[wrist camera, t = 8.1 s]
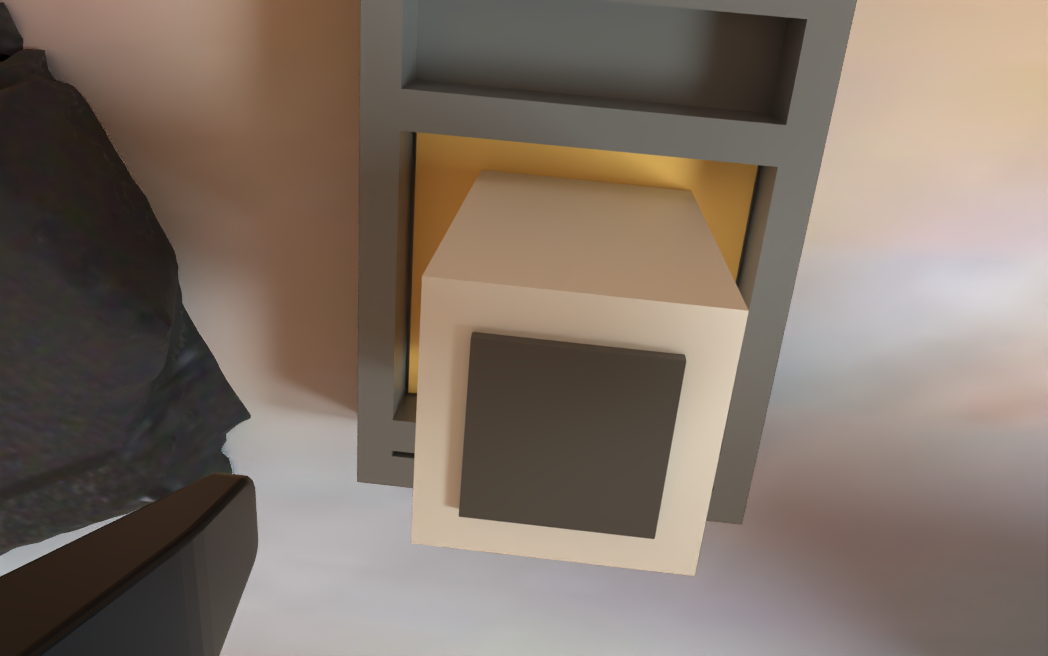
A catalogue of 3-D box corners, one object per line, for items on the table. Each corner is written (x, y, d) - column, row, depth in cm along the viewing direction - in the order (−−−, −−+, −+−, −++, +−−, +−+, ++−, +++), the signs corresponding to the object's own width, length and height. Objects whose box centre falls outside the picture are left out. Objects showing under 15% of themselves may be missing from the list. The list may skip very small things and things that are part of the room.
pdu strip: (724, 462, 22) (797, 725, 14) (383, 425, 22) (273, 663, 15) (930, -552, 14) (1331, -1175, 7) (403, -587, 15) (193, -1224, 7)
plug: (660, 379, 20) (696, 584, 13) (468, 359, 20) (408, 550, 13) (692, 190, 18) (751, 316, 11) (481, 169, 18) (419, 280, 12)
